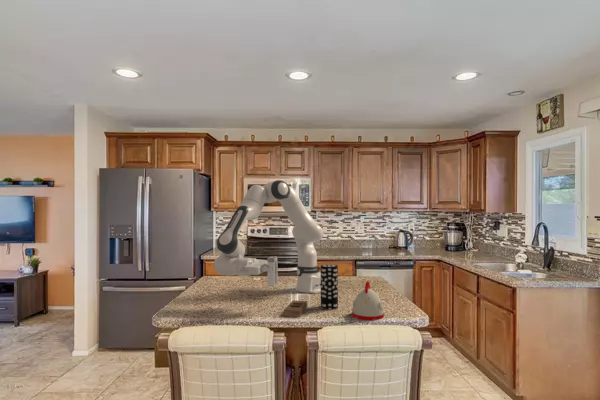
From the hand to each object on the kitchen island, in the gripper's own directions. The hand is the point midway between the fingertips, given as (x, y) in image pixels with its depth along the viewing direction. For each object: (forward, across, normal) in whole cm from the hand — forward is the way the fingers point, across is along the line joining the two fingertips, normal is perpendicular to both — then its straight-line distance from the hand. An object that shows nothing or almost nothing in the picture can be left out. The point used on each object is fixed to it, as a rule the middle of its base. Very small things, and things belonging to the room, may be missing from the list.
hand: (274, 267), depth 170 cm
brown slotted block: (+10, 0, +20) cm, 22 cm away
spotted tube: (+24, +10, +20) cm, 33 cm away
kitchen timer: (+43, +1, +20) cm, 48 cm away
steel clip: (-1, 0, +8) cm, 8 cm away
